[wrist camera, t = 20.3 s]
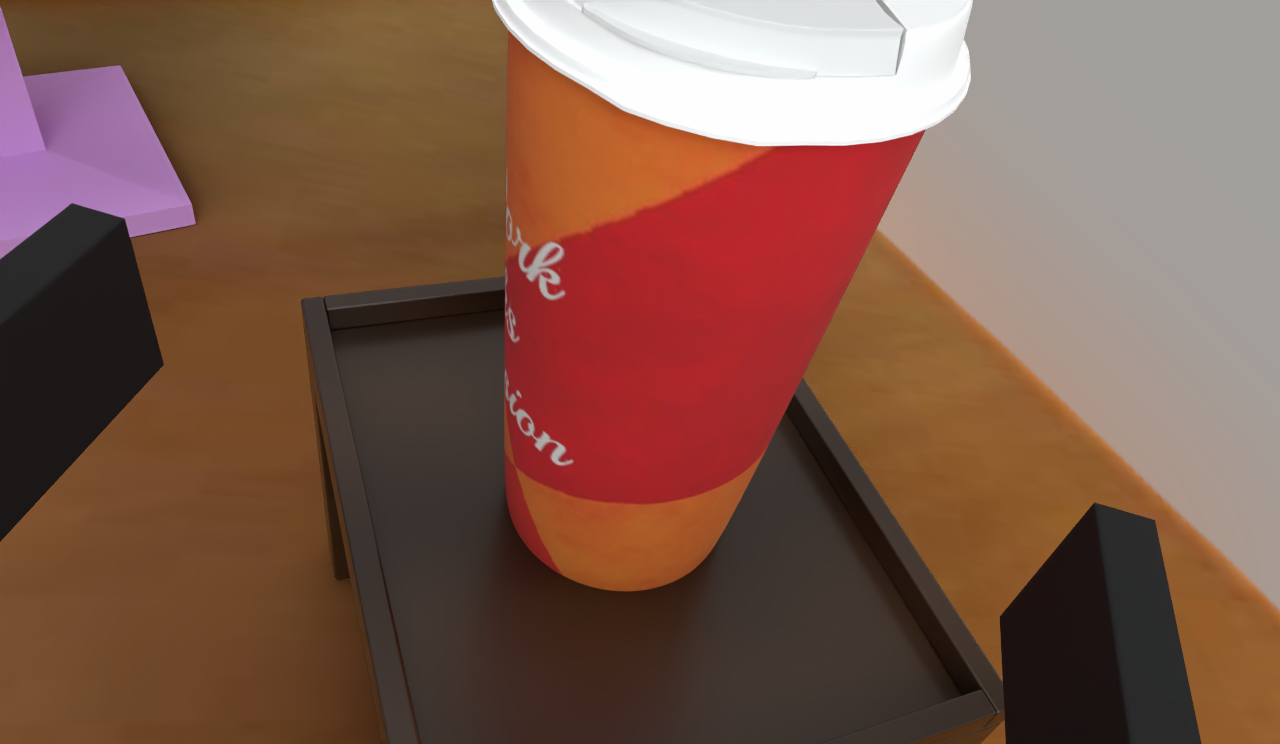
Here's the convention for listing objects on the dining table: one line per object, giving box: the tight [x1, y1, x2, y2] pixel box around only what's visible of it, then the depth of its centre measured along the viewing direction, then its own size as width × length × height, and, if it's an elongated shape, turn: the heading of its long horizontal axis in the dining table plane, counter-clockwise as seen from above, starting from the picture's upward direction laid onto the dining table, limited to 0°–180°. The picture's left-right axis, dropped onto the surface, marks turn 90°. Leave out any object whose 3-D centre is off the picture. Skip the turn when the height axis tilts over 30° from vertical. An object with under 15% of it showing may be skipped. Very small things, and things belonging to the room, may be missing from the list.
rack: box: [301, 277, 1005, 744], centre depth 27 cm, size 16×13×12 cm
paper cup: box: [492, 0, 973, 591], centre depth 19 cm, size 8×8×14 cm
